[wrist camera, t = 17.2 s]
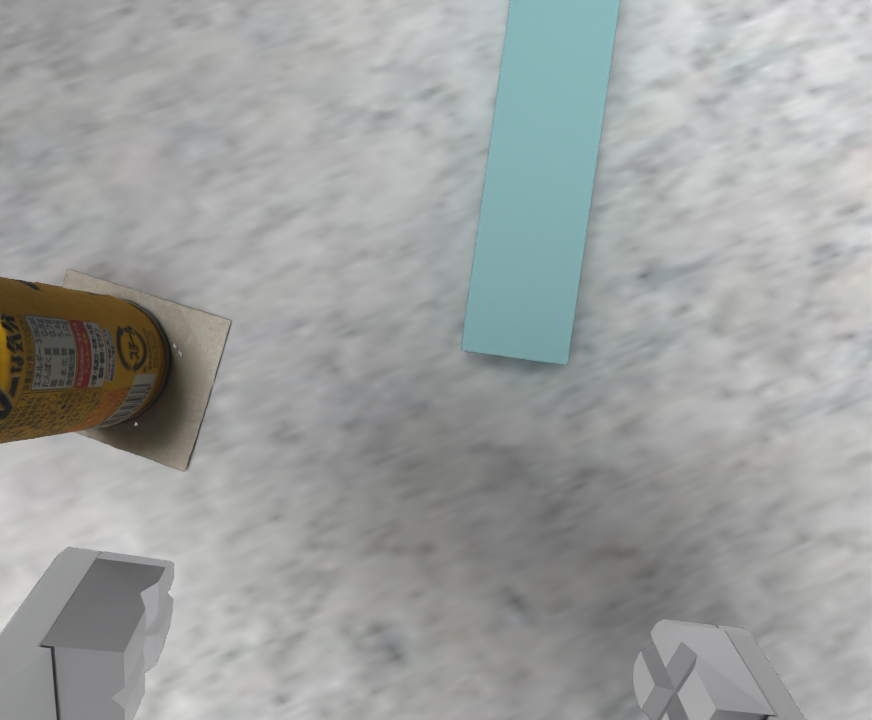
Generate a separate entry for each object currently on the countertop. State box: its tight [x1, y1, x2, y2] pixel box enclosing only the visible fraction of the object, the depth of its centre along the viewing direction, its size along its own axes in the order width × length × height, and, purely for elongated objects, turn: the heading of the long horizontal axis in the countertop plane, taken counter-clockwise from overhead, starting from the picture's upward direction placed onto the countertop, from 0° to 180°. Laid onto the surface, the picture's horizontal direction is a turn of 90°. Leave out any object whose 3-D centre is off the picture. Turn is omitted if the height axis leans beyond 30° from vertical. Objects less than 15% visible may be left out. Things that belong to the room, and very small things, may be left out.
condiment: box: [0, 269, 231, 472], centre depth 21 cm, size 7×8×12 cm
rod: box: [461, 0, 620, 365], centre depth 23 cm, size 22×4×4 cm, turn 172°
